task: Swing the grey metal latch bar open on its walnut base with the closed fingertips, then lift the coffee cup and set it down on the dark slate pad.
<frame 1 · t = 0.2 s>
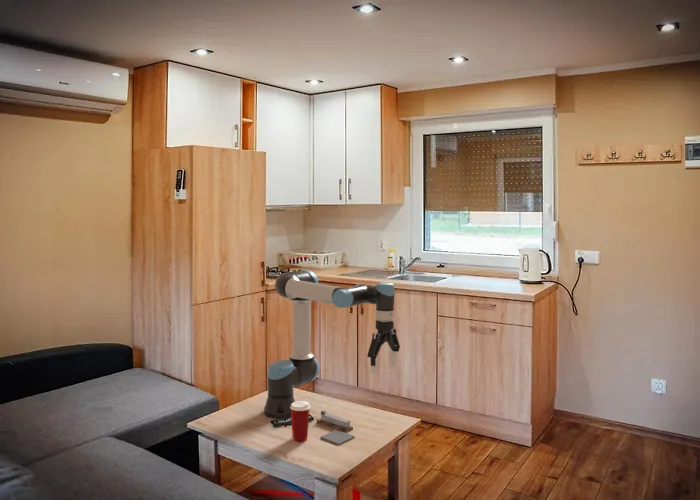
hand: (383, 369, 242), 27 cm above the table, fingers open, 13 cm apart
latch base: (323, 422, 255), on the table
coffee cup: (299, 439, 237), on the table
latch bar: (334, 419, 251), point 3 cm above the table, hinge at 0.0°
slate pad: (337, 438, 238), on the table
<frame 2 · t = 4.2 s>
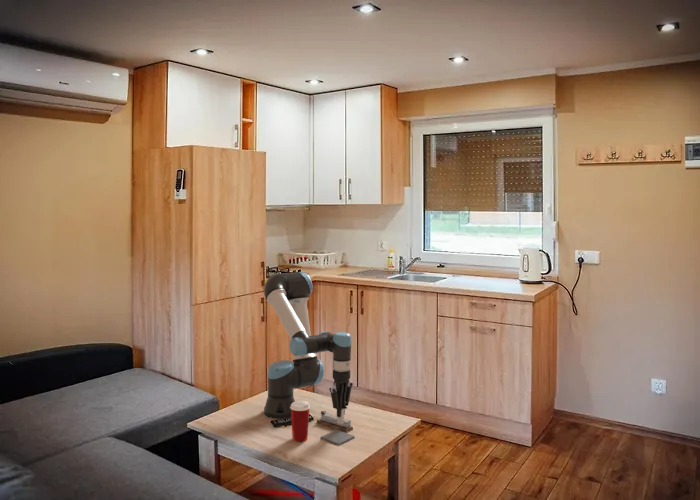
hand: (340, 423, 247), 3 cm above the table, fingers closed
latch bar: (334, 418, 251), point 3 cm above the table, hinge at 2.0°, touching gripper
everything else where it was.
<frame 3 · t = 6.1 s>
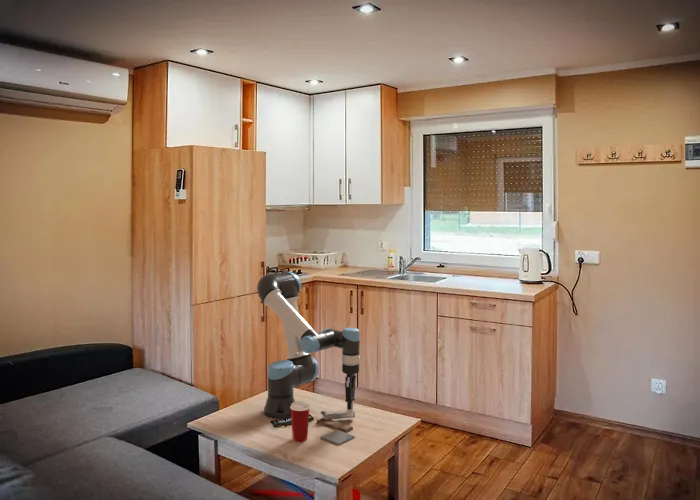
hand: (350, 415, 255), 3 cm above the table, fingers closed
latch bar: (337, 414, 257), point 3 cm above the table, hinge at 54.6°, touching gripper
everything else where it was.
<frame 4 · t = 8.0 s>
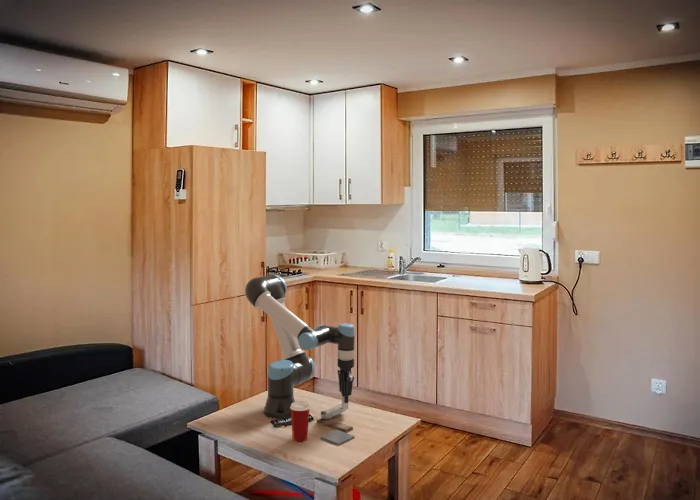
hand: (345, 408, 263), 3 cm above the table, fingers closed
latch bar: (332, 411, 260), point 3 cm above the table, hinge at 90.9°, touching gripper
everything else where it was.
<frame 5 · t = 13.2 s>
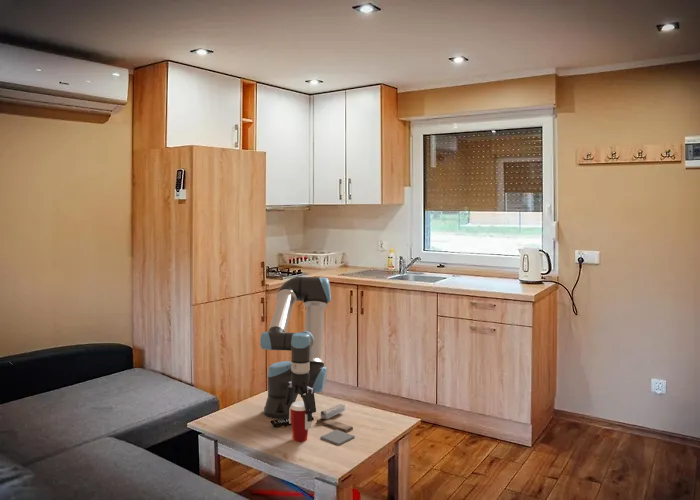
hand: (299, 425, 236), 6 cm above the table, fingers closed on coffee cup, 8 cm apart
coffee cup: (299, 439, 237), on the table, touching gripper
latch bar: (332, 411, 260), point 3 cm above the table, hinge at 93.5°
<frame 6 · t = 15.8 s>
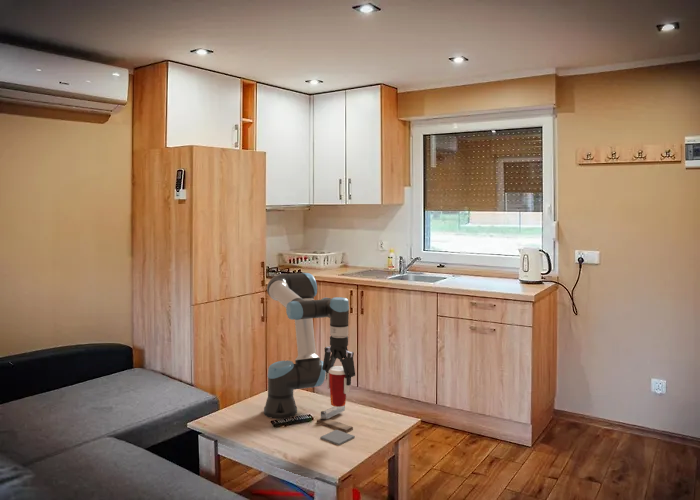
hand: (338, 390, 237), 20 cm above the table, fingers closed on coffee cup, 8 cm apart
coffee cup: (337, 404, 237), point 14 cm above the table, touching gripper
everything else where it was.
when the fingers open (8 cm above the table, at t = 18.4 s): coffee cup drops 1 cm, resting on slate pad.
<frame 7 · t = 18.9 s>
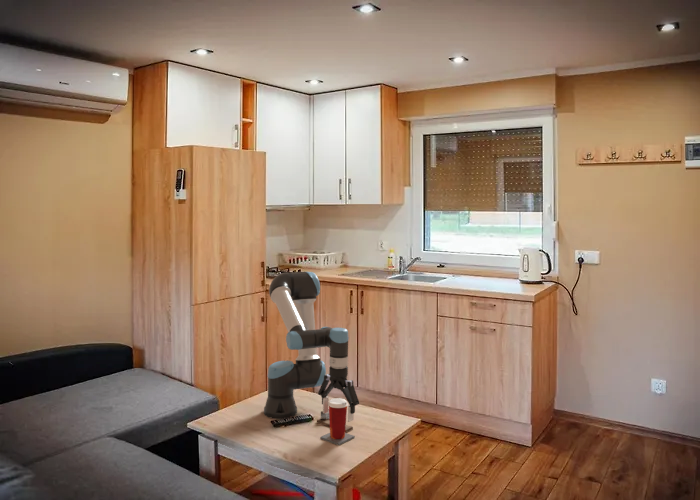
hand: (337, 416, 238), 9 cm above the table, fingers open, 13 cm apart
coffee cup: (337, 436, 238), point 1 cm above the table, touching slate pad
everything else where it was.
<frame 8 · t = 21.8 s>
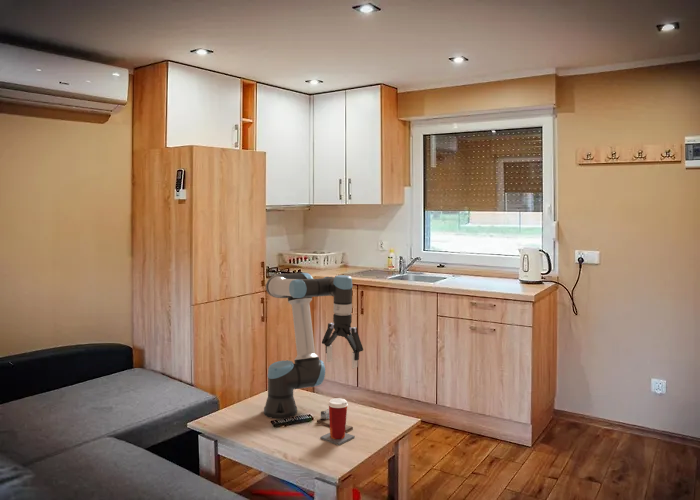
hand: (341, 364, 237), 31 cm above the table, fingers open, 13 cm apart
nothing on the table moved.
at the end: latch bar at +94° (first picture: +0°); coffee cup inside the target area on the slate pad (0.1 cm from its centre), point 0.6 cm above the slate pad's base; coffee cup tilted 0° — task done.
